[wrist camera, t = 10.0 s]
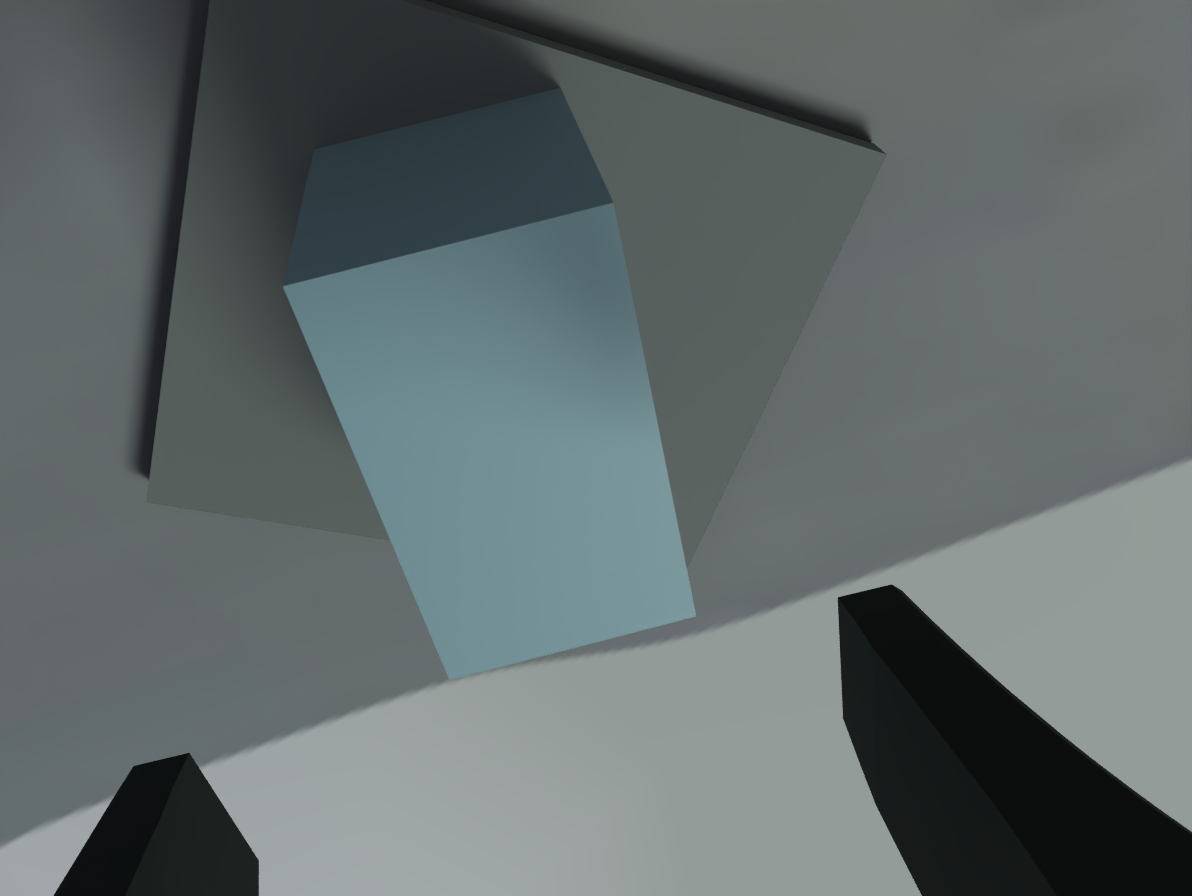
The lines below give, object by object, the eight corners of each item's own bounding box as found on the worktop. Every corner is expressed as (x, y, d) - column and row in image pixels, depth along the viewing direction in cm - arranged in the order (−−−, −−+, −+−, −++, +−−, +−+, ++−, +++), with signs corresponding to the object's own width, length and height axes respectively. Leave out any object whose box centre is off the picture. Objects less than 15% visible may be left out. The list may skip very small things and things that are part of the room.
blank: (440, 491, 20) (450, 680, 16) (314, 149, 16) (283, 286, 12) (637, 440, 20) (696, 616, 16) (560, 87, 16) (613, 202, 12)
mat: (152, 483, 20) (146, 502, 19) (223, -65, 15) (217, -58, 14) (673, 567, 23) (678, 585, 22) (873, 143, 18) (886, 153, 18)
